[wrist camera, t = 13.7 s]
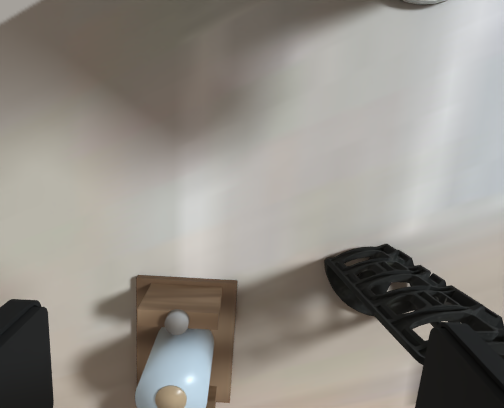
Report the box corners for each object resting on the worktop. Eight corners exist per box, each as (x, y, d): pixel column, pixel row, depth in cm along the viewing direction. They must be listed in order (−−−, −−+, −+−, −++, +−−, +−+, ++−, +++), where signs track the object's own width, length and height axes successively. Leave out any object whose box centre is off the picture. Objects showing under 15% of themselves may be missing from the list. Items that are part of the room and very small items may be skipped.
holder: (307, 292, 40) (388, 439, 20) (335, 224, 39) (448, 307, 19) (404, 325, 41) (569, 494, 21) (433, 260, 40) (634, 372, 20)
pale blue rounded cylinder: (155, 316, 39) (133, 367, 31) (214, 318, 40) (207, 370, 32) (156, 367, 41) (135, 429, 33) (213, 369, 41) (206, 431, 33)
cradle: (138, 275, 39) (116, 308, 33) (237, 280, 39) (235, 315, 33) (138, 393, 43) (119, 445, 36) (229, 397, 43) (227, 450, 36)
